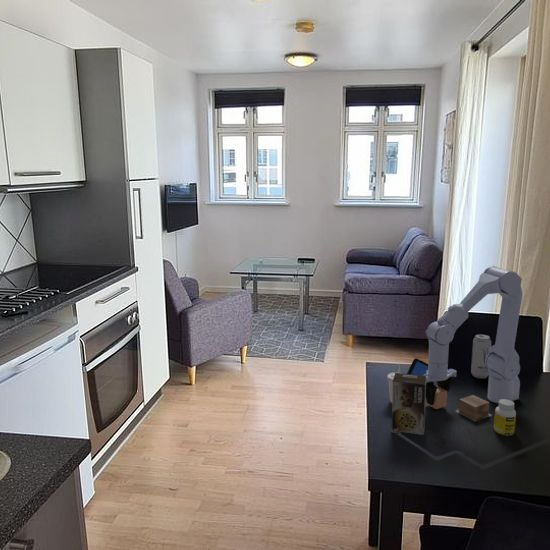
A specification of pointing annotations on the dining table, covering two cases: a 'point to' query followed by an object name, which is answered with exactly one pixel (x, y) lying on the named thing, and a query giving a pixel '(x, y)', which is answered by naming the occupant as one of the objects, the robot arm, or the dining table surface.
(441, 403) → the terracotta block
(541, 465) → the dining table surface
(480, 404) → the walnut block
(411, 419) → the printed cardboard box
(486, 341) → the energy drink can
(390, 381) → the smoothie
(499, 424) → the supplement bottle
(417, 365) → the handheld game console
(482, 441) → the dining table surface
